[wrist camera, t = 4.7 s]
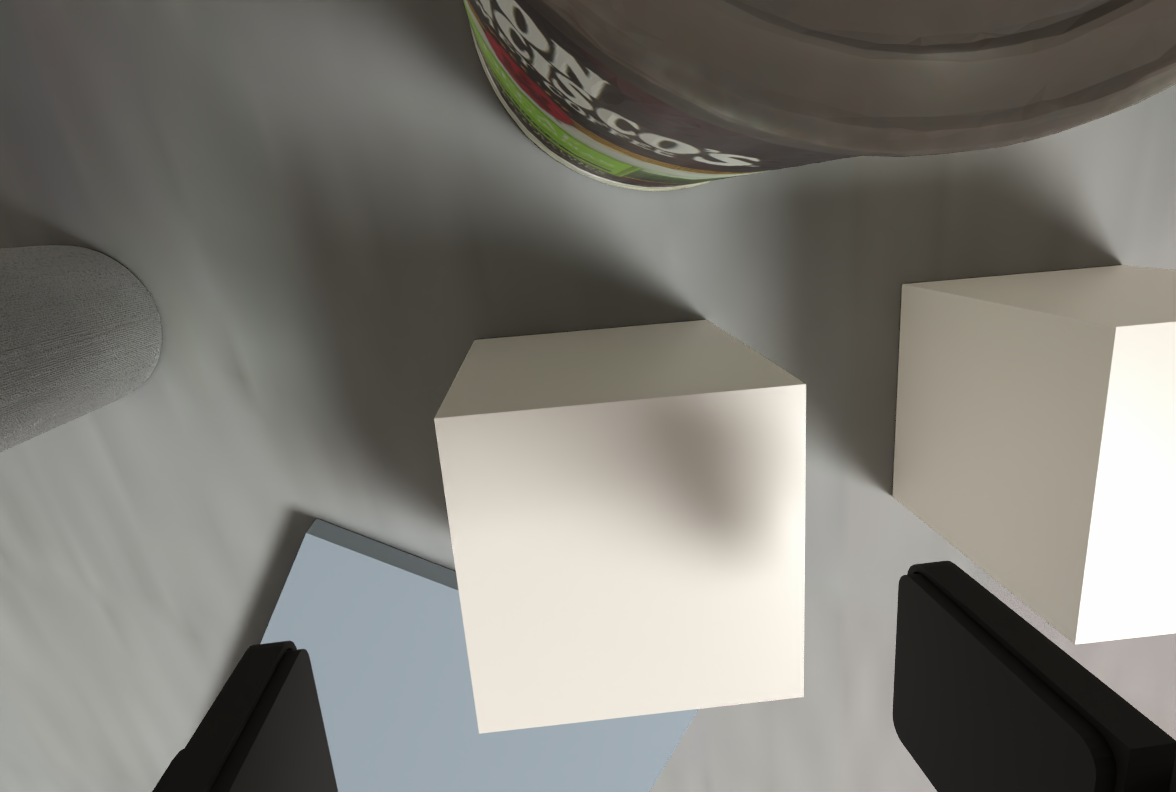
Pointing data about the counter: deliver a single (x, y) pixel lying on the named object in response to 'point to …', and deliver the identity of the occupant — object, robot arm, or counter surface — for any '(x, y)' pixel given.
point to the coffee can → (808, 78)
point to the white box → (625, 523)
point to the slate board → (433, 685)
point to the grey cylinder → (69, 337)
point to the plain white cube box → (1048, 438)
